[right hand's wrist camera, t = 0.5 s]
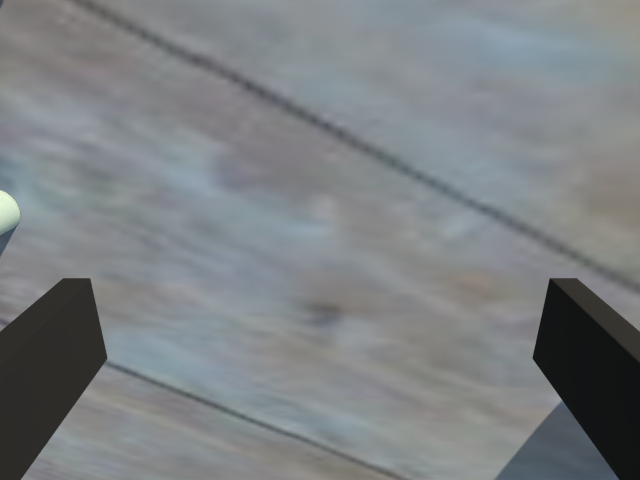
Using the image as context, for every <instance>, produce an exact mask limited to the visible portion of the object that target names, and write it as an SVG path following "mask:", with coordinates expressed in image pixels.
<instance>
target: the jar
mask: <svg viewBox="0 0 640 480" xmlns="http://www.w3.org/2000/svg"><path fill="white" fill-rule="evenodd" d="M19 220H20V210H19V207H18V205H17V203H16V202H15V200H14V199H13V198H12V197H11V196H10V195H8V194H7V193H5V192H3V191H1V190H0V235H2V234H4V233H5V232H7V231H9V230H11V229H13V228H14V227H15V226H16V225H17V224H18V222H19Z"/></svg>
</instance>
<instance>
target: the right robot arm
mask: <svg viewBox="0 0 640 480" xmlns="http://www.w3.org/2000/svg"><path fill="white" fill-rule="evenodd" d="M106 360H107V354H106V349H105V345H104V340H103V335H102V331H101V326H100V322H99V317H98V312H97V308H96V303H95V299H94V294H93V289H92V285H91V280H90V278H63V279H62V280H61V281H60V282H58V283H57V284H56V285H55V286H54V287H53V288H51V289H50V290H49V291H48V292H47V293H45V294H44V295H43V296H42V297H41V298H40V299H38V300H37V301H36V302H35V303H34V304H32V305H31V306H30V307H29V308H28V309H27V310H25V311H24V312H23V313H22V314H21V315H19V316H18V317H17V318H16V319H15V320H14V321H12V322H11V323H10V324H9V325H8V326H6V327H5V328H4V329H3V330H2V331H1V332H0V480H21V478H22V477H23V476H24V474H25V473H26V471H27V470H28V469H29V467H30V466H31V464H32V463H33V462H34V460H35V459H36V457H37V456H38V455H39V453H40V452H41V451H42V449H43V448H44V446H45V445H46V444H47V442H48V441H49V439H50V438H51V437H52V435H53V434H54V432H55V431H56V430H57V428H58V427H59V425H60V424H61V423H62V421H63V420H64V418H65V417H66V416H67V414H68V413H69V411H70V410H71V409H72V407H73V406H74V404H75V403H76V402H77V400H78V399H79V397H80V396H81V395H82V393H83V392H84V390H85V389H86V388H87V386H88V385H89V383H90V382H91V381H92V379H93V378H94V376H95V375H96V374H97V372H98V371H99V369H100V368H101V367H102V365H103V364H104V362H105V361H106ZM533 360H534V361H535V362H536V364H537V365H538V367H539V368H540V369H541V371H542V372H543V374H544V375H545V376H546V378H547V379H548V381H549V382H550V383H551V385H552V386H553V388H554V389H555V390H556V392H557V393H558V395H559V396H560V397H561V399H562V400H563V402H564V403H565V404H566V406H567V407H568V409H569V410H570V411H571V413H572V414H573V416H574V417H575V418H576V420H577V421H578V423H579V424H580V425H581V427H582V428H583V430H584V431H585V432H586V434H587V435H588V437H589V438H590V439H591V441H592V442H593V444H594V445H595V446H596V448H597V449H598V451H599V452H600V453H601V455H602V456H603V458H604V459H605V460H606V462H607V463H608V464H609V466H610V467H611V469H612V470H613V471H614V473H615V474H616V476H617V477H618V478H619V480H640V332H639V331H638V330H637V329H636V328H635V327H634V326H632V325H631V324H630V323H629V322H628V321H626V320H625V319H624V318H623V317H622V316H621V315H619V314H618V313H617V312H616V311H615V310H613V309H612V308H611V307H610V306H609V305H608V304H606V303H605V302H604V301H603V300H602V299H600V298H599V297H598V296H597V295H596V294H595V293H593V292H592V291H591V290H590V289H589V288H587V287H586V286H585V285H584V284H583V283H582V282H580V281H579V280H578V279H577V278H550V280H549V285H548V289H547V294H546V299H545V303H544V308H543V312H542V317H541V322H540V326H539V331H538V335H537V340H536V345H535V349H534V354H533Z"/></svg>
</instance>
